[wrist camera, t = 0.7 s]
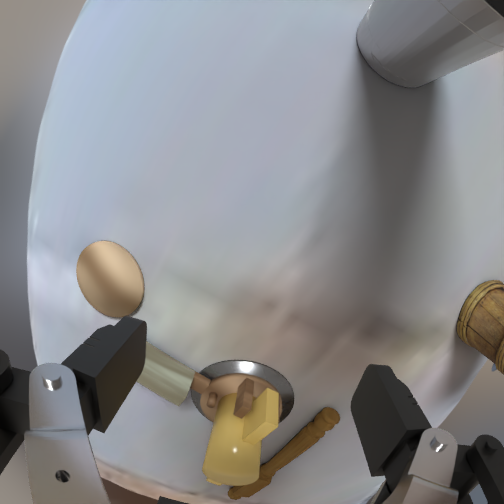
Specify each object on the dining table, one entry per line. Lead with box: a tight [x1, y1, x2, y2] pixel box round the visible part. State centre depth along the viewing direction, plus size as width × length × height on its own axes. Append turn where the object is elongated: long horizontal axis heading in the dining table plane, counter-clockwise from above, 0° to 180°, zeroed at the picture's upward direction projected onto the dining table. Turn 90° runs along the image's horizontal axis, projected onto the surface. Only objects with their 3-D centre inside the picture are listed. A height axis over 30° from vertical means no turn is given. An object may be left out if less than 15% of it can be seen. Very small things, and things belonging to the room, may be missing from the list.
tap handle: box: [228, 407, 340, 500], centre depth 36 cm, size 3×3×30 cm
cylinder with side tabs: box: [202, 388, 279, 486], centre depth 27 cm, size 11×6×10 cm, turn 147°
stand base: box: [191, 360, 294, 422], centre depth 34 cm, size 13×13×1 cm
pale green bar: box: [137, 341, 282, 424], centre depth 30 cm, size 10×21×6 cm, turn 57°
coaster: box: [76, 241, 144, 317], centre depth 30 cm, size 9×9×1 cm
